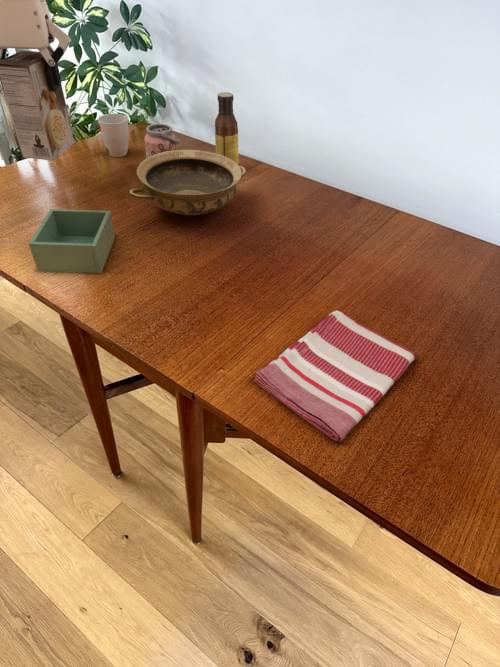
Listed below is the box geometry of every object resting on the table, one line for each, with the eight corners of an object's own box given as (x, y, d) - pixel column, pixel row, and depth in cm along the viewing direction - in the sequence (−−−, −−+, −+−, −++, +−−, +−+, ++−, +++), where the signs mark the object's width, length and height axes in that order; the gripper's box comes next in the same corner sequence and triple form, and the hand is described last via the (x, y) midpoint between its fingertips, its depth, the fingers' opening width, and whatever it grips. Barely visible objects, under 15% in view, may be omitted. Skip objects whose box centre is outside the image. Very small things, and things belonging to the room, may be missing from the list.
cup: (110, 147, 139) (105, 112, 132) (136, 150, 138) (132, 115, 131) (99, 158, 133) (92, 121, 126) (125, 161, 132) (120, 125, 125)
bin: (37, 272, 92) (28, 243, 88) (57, 235, 102) (50, 208, 98) (101, 274, 93) (95, 245, 88) (115, 237, 103) (110, 210, 98)
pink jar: (174, 163, 132) (171, 120, 124) (186, 175, 127) (184, 130, 119) (143, 169, 129) (138, 124, 120) (154, 181, 123) (150, 135, 115)
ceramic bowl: (154, 248, 100) (149, 206, 93) (115, 201, 115) (108, 162, 108) (269, 216, 113) (272, 177, 106) (221, 177, 127) (221, 140, 120)
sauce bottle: (240, 167, 132) (242, 92, 119) (235, 176, 128) (236, 99, 114) (218, 164, 133) (218, 89, 120) (212, 173, 129) (211, 96, 115)
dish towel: (250, 383, 73) (251, 372, 72) (334, 315, 87) (337, 304, 85) (338, 447, 66) (342, 436, 64) (416, 361, 79) (421, 350, 77)
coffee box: (45, 140, 94) (21, 49, 83) (75, 143, 93) (55, 52, 82) (22, 158, 87) (-7, 61, 76) (54, 161, 86) (29, 65, 75)
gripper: (65, -39, 73) (88, 84, 85) (-47, -44, 73) (-9, 81, 85) (52, -34, 68) (78, 97, 80) (-70, -40, 67) (-25, 93, 79)
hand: (33, 88), depth 82 cm, fingers closed on coffee box, 7 cm apart
